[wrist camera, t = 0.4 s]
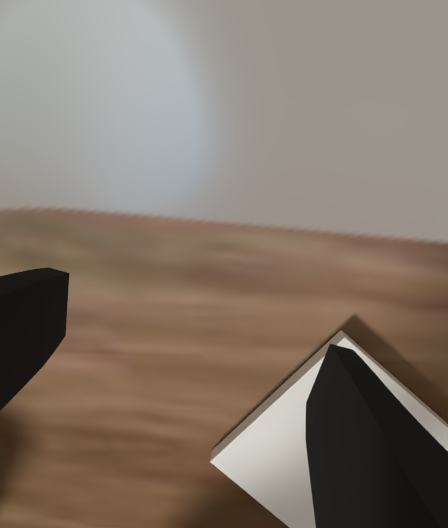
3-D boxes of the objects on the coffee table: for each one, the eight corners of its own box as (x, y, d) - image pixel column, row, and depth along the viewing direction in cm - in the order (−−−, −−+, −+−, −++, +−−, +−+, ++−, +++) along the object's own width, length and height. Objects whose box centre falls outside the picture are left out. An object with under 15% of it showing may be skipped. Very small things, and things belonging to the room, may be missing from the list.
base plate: (342, 557, 23) (345, 573, 22) (212, 449, 22) (210, 461, 22) (483, 455, 21) (493, 468, 20) (341, 329, 20) (344, 337, 19)
